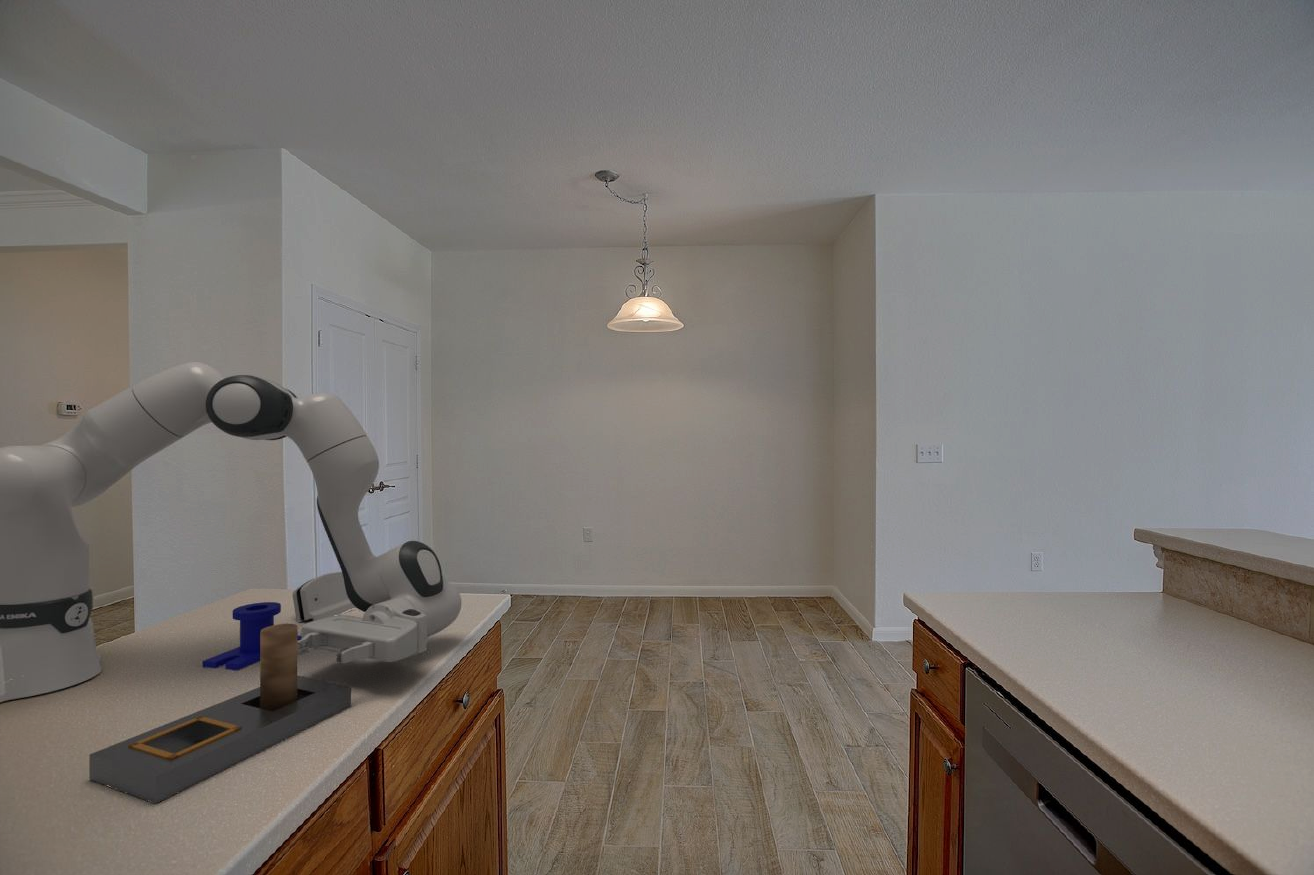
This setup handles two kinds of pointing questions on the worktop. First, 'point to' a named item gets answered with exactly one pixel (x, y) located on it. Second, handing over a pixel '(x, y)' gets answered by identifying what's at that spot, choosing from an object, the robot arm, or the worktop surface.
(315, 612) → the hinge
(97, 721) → the worktop surface
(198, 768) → the grey slotted board
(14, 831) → the worktop surface
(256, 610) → the mount
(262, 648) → the peg
